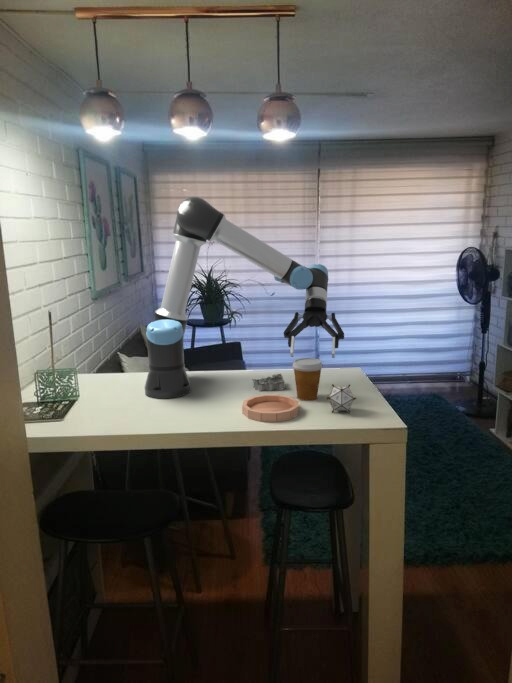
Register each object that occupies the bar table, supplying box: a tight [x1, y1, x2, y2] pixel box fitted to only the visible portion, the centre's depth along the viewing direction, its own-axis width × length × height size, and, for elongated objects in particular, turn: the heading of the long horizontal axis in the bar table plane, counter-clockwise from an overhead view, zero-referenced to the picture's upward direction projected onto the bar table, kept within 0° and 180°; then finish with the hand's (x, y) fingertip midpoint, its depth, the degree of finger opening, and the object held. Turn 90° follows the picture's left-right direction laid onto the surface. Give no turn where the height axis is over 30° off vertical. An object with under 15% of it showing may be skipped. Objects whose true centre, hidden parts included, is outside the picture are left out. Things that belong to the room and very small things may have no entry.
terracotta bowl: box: [241, 394, 300, 423], centre depth 150 cm, size 16×16×2 cm
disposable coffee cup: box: [292, 357, 324, 402], centre depth 161 cm, size 10×10×12 cm
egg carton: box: [252, 373, 286, 392], centre depth 173 cm, size 11×8×4 cm
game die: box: [325, 383, 357, 414], centre depth 149 cm, size 9×8×10 cm
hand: (312, 355), depth 167 cm, fingers open, 13 cm apart
